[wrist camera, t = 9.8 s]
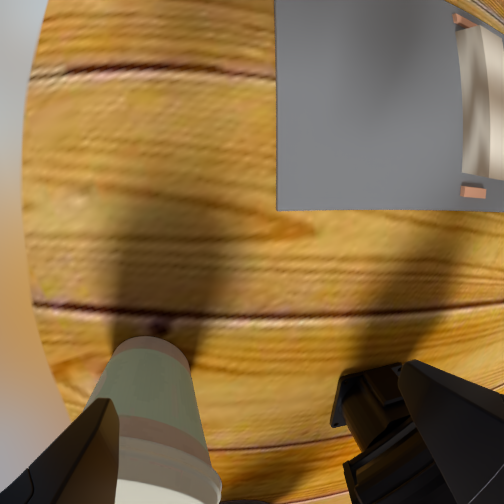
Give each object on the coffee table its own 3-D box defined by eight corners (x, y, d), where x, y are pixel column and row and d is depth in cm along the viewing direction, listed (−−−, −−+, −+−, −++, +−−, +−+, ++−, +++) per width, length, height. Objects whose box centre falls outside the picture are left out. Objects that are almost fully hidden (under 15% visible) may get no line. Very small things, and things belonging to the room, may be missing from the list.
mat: (527, 212, 23) (533, 214, 23) (275, 209, 19) (279, 212, 18) (524, 51, 18) (530, 51, 17) (272, -47, 13) (275, -54, 13)
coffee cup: (97, 305, 19) (31, 445, 8) (220, 332, 21) (248, 486, 10) (94, 394, 21) (62, 520, 10) (196, 415, 23) (207, 545, 12)
